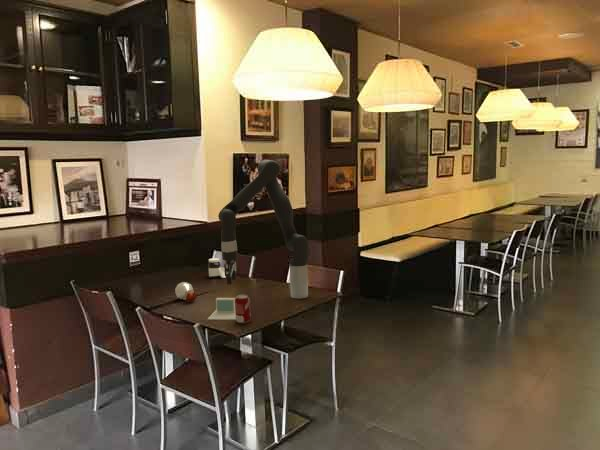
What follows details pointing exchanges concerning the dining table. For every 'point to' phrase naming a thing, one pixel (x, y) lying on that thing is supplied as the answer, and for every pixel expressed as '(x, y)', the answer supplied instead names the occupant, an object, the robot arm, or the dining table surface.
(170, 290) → the dining table surface
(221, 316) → the mat
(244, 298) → the soda can
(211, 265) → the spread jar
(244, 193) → the robot arm
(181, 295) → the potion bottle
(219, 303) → the card deck
